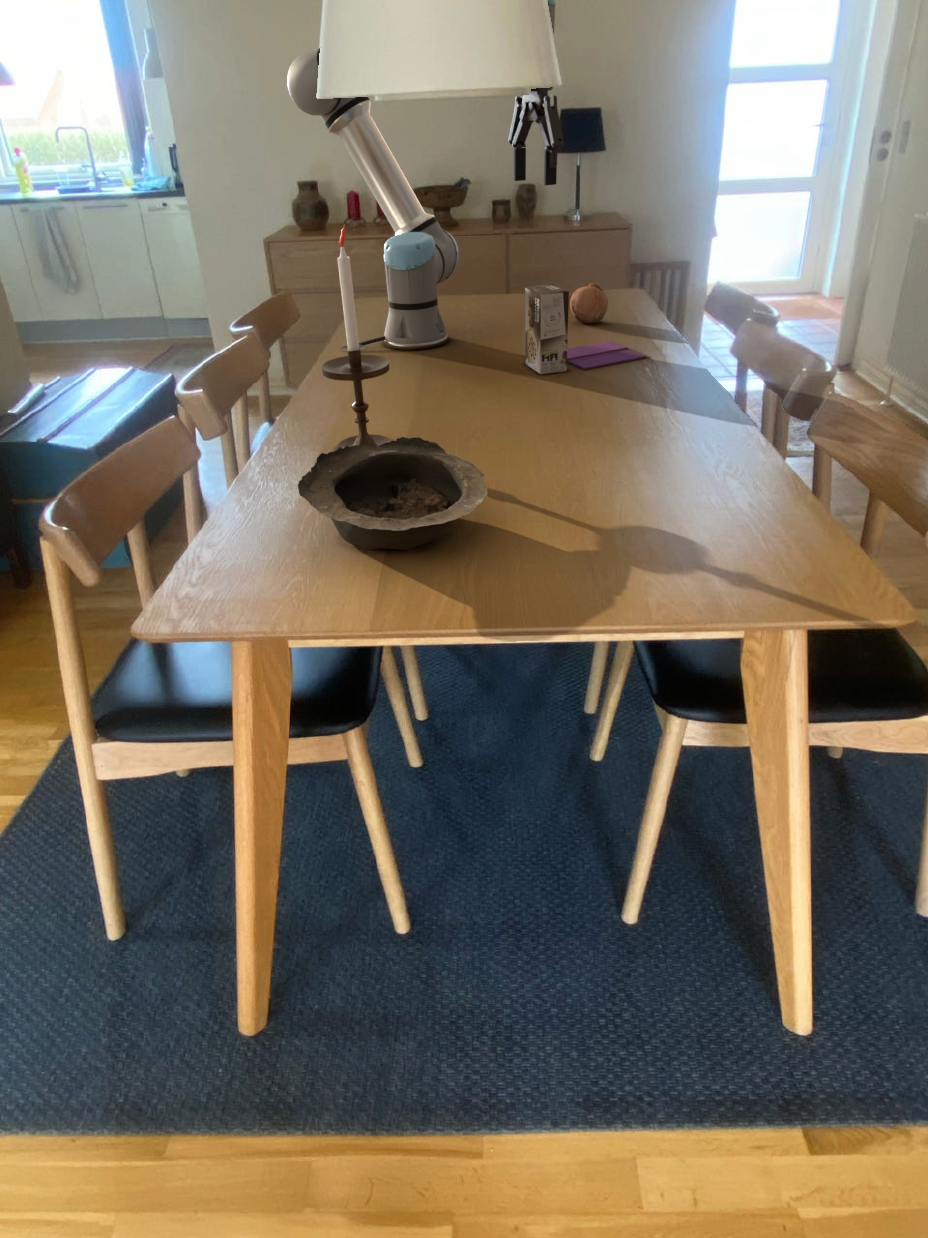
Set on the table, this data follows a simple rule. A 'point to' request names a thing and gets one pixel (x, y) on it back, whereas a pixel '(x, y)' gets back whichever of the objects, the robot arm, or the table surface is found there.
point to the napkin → (601, 355)
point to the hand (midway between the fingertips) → (534, 182)
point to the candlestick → (354, 358)
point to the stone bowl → (393, 492)
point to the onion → (589, 304)
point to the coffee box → (546, 328)
